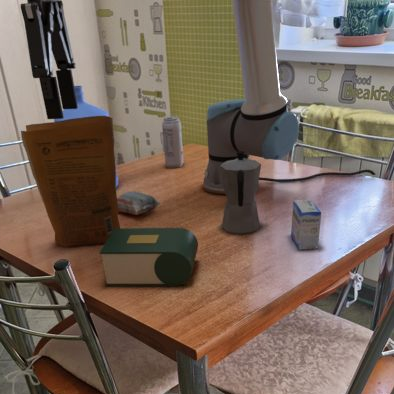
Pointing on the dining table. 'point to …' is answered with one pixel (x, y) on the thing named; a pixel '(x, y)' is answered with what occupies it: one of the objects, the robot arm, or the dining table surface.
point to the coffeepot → (240, 194)
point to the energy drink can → (172, 141)
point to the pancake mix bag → (75, 177)
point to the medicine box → (305, 224)
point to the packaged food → (136, 203)
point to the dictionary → (149, 256)
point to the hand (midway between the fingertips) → (63, 113)
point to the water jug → (83, 111)
